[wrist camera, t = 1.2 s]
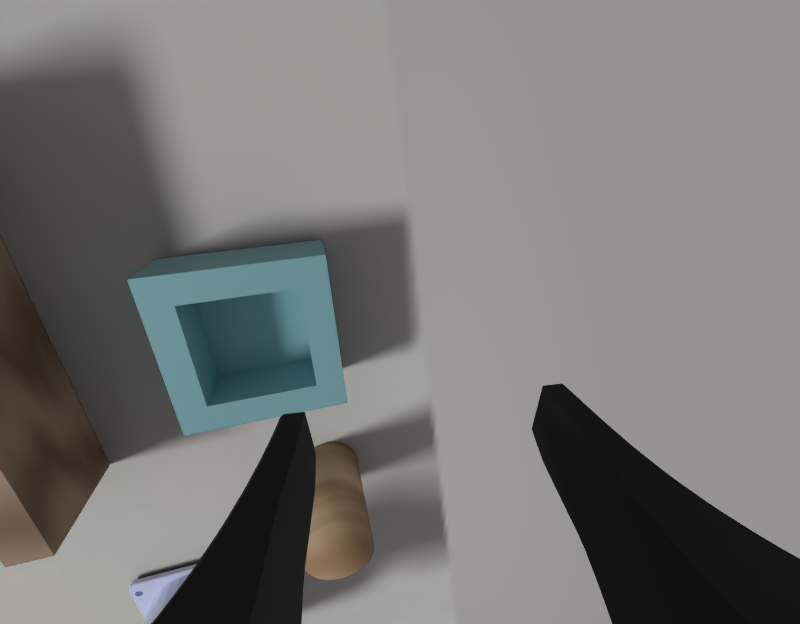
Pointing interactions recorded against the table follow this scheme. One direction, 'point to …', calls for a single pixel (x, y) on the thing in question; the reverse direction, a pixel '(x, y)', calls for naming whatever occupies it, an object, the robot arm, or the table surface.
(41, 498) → the wall
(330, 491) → the dowel
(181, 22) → the table surface
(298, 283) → the socket block
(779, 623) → the robot arm
